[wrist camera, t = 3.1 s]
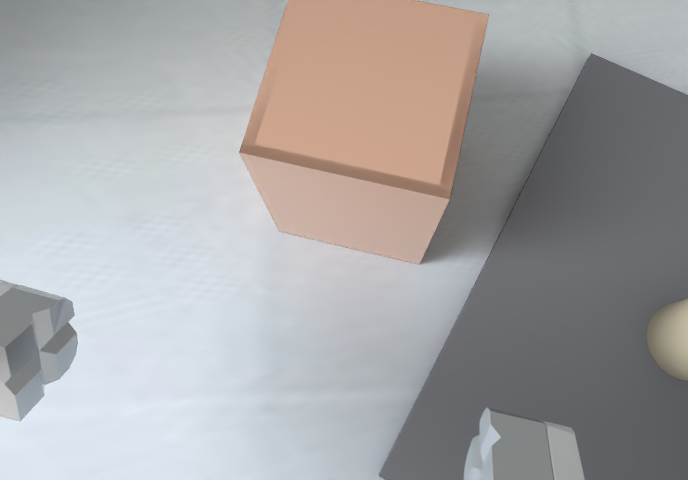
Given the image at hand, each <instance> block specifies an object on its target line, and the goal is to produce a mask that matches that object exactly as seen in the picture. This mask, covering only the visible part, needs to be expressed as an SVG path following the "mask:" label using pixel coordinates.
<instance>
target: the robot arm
mask: <svg viewBox="0 0 688 480" xmlns="http://www.w3.org/2000/svg"><path fill="white" fill-rule="evenodd" d="M73 317H74V309H73V303H72V301H70V300H68V299H67V298H64V297H61V296H57V295H54V294H50V293H47V292H43V291H40V290H36V289H33V288H29V287H26V286H22V285H16V284H13V283H10V282H6V281H3V280H0V416H1V417H5V418H9V419H13V420H17V421H21V420H22V419H23V418H24V417H25V416H26V415H27V414H28V412H29V411H30V410H31V409H32V408H33V407H34V406H35V405H36V404H37V403H38V402H39V401H40V400H41V398H42V397H43V396H44V385H46V384H48V383H51V382H53V381H56V380H58V379H60V378H61V377H62V376H63V374H64V373H65V372H66V371H67V370H68V369H69V367H70V365H71V363H72V361H73V359H74V357H75V355H76V350H77V344H78V341H77V333H76V331H75V330H74V329H73V328H72V326H71V325H70V324H69V321H70V320H71V319H72V318H73ZM464 480H585V478H584V473H583V468H582V464H581V459H580V455H579V450H578V445H577V441H576V436H575V432H574V431H573V430H572V428H570V427H566V426H562V425H558V424H554V423H550V422H546V421H540V420H537V419H533V418H529V417H525V416H521V415H517V414H513V413H509V412H505V411H501V410H497V409H493V408H489V407H487V408H486V409H485V411H484V412H483V414H482V417H481V419H480V435H478V436H476V437H474V438H473V439H472V442H471V445H470V447H469V450H468V454H467V458H466V463H465V469H464Z"/></svg>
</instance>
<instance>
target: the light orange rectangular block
mask: <svg viewBox="0 0 688 480" xmlns="http://www.w3.org/2000/svg"><path fill="white" fill-rule="evenodd" d="M488 17H489V15H488V14H483V13H478V12H473V11H468V10H462V9H457V8H452V7H447V6H441V5H436V4H431V3H426V2H421V1H415V0H288V3H287V6H286V9H285V12H284V15H283V18H282V21H281V24H280V27H279V30H278V34H277V37H276V40H275V43H274V46H273V49H272V52H271V55H270V58H269V61H268V65H267V68H266V71H265V74H264V77H263V80H262V83H261V86H260V89H259V92H258V96H257V99H256V102H255V105H254V108H253V111H252V114H251V117H250V120H249V123H248V127H247V130H246V133H245V136H244V139H243V142H242V145H241V148H240V151H239V153H240V155H241V157H242V159H243V161H244V163H245V165H246V167H247V169H248V171H249V173H250V175H251V177H252V179H253V181H254V183H255V185H256V187H257V189H258V191H259V193H260V195H261V197H262V199H263V201H264V203H265V204H266V206H267V208H268V210H269V212H270V214H271V216H272V218H273V220H274V222H275V224H276V226H277V228H278V230H279V232H283V233H288V234H292V235H296V236H300V237H305V238H309V239H313V240H317V241H322V242H326V243H330V244H334V245H339V246H343V247H347V248H351V249H356V250H360V251H364V252H368V253H373V254H377V255H381V256H385V257H390V258H394V259H398V260H402V261H407V262H411V263H415V264H420V262H421V260H422V258H423V256H424V254H425V252H426V249H427V247H428V245H429V243H430V241H431V239H432V236H433V234H434V232H435V230H436V228H437V226H438V224H439V221H440V219H441V217H442V215H443V213H444V211H445V209H446V206H447V204H448V202H449V200H450V196H451V191H452V186H453V182H454V177H455V172H456V168H457V163H458V158H459V153H460V149H461V144H462V139H463V135H464V130H465V125H466V120H467V116H468V111H469V106H470V102H471V97H472V92H473V88H474V83H475V78H476V73H477V69H478V64H479V59H480V55H481V50H482V45H483V40H484V36H485V31H486V26H487V22H488Z"/></svg>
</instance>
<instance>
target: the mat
mask: <svg viewBox="0 0 688 480" xmlns="http://www.w3.org/2000/svg"><path fill="white" fill-rule="evenodd" d="M487 407H489V408H493V409H497V410H501V411H505V412H509V413H513V414H517V415H521V416H525V417H529V418H533V419H537V420H540V421H546V422H550V423H554V424H558V425H562V426H566V427H570V428H572V430H573V431H574V432H575V436H576V441H577V445H578V450H579V455H580V459H581V464H582V468H583V473H584V478H585V480H688V95H686V94H683V93H681V92H679V91H677V90H674V89H672V88H670V87H667V86H665V85H663V84H661V83H658V82H656V81H654V80H651V79H649V78H647V77H645V76H642V75H640V74H638V73H635V72H633V71H631V70H628V69H626V68H624V67H622V66H619V65H617V64H615V63H612V62H610V61H608V60H606V59H603V58H601V57H599V56H596V55H594V54H592V53H591V55H590V56H589V58H588V60H587V62H586V64H585V66H584V68H583V70H582V71H581V73H580V75H579V77H578V79H577V81H576V83H575V85H574V87H573V89H572V91H571V93H570V95H569V97H568V99H567V101H566V103H565V105H564V107H563V109H562V111H561V113H560V115H559V117H558V119H557V121H556V123H555V125H554V127H553V129H552V131H551V133H550V135H549V137H548V139H547V141H546V143H545V145H544V147H543V149H542V151H541V153H540V155H539V157H538V159H537V161H536V163H535V165H534V167H533V169H532V171H531V173H530V175H529V177H528V179H527V181H526V183H525V185H524V187H523V189H522V191H521V193H520V195H519V197H518V199H517V201H516V203H515V205H514V207H513V209H512V211H511V213H510V215H509V217H508V219H507V221H506V223H505V225H504V227H503V229H502V231H501V233H500V235H499V237H498V239H497V241H496V243H495V245H494V247H493V249H492V251H491V253H490V255H489V257H488V259H487V261H486V263H485V265H484V266H483V268H482V270H481V272H480V274H479V276H478V278H477V280H476V282H475V284H474V286H473V288H472V290H471V292H470V294H469V296H468V298H467V300H466V302H465V304H464V306H463V308H462V310H461V312H460V314H459V316H458V318H457V320H456V322H455V324H454V326H453V328H452V330H451V332H450V334H449V336H448V338H447V340H446V342H445V344H444V346H443V348H442V350H441V352H440V354H439V356H438V358H437V360H436V362H435V364H434V366H433V368H432V370H431V372H430V374H429V376H428V378H427V380H426V382H425V384H424V386H423V388H422V390H421V392H420V394H419V396H418V398H417V400H416V402H415V404H414V406H413V408H412V410H411V412H410V414H409V416H408V418H407V420H406V422H405V424H404V426H403V428H402V430H401V432H400V434H399V436H398V438H397V440H396V442H395V444H394V446H393V448H392V450H391V452H390V454H389V456H388V458H387V460H386V461H385V463H384V465H383V467H382V469H381V471H380V473H379V476H380V477H382V478H383V479H385V480H464V469H465V463H466V458H467V454H468V450H469V447H470V445H471V442H472V439H473V438H474V437H476V436H478V435H480V419H481V417H482V414H483V412H484V411H485V409H486V408H487Z"/></svg>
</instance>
